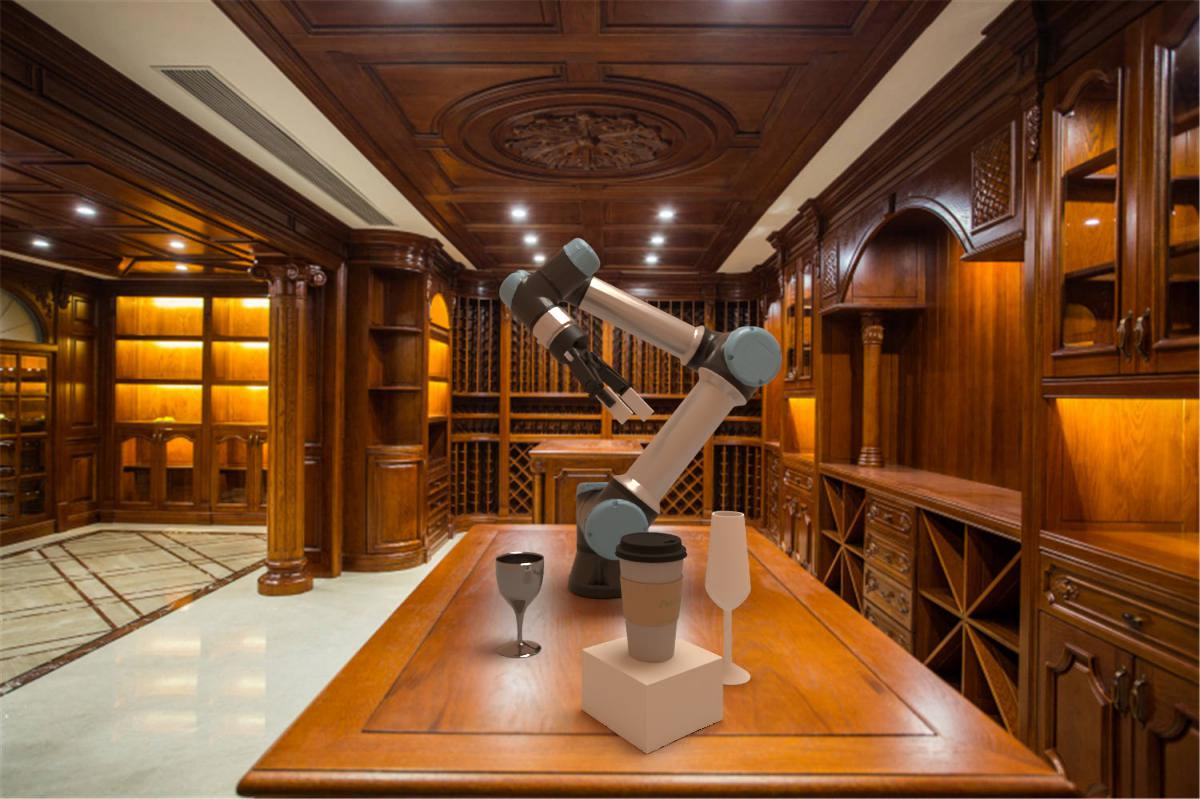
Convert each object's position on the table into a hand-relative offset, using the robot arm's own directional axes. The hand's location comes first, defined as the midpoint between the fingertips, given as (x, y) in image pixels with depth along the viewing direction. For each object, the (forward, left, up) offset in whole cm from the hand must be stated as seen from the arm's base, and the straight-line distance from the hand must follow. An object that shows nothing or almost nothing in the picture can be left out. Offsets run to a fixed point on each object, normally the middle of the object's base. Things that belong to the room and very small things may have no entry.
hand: (638, 417), depth 113 cm
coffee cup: (+25, -19, -30) cm, 43 cm away
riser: (+25, -19, -38) cm, 49 cm away
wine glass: (-4, -22, -38) cm, 44 cm away
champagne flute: (+23, -2, -38) cm, 44 cm away
